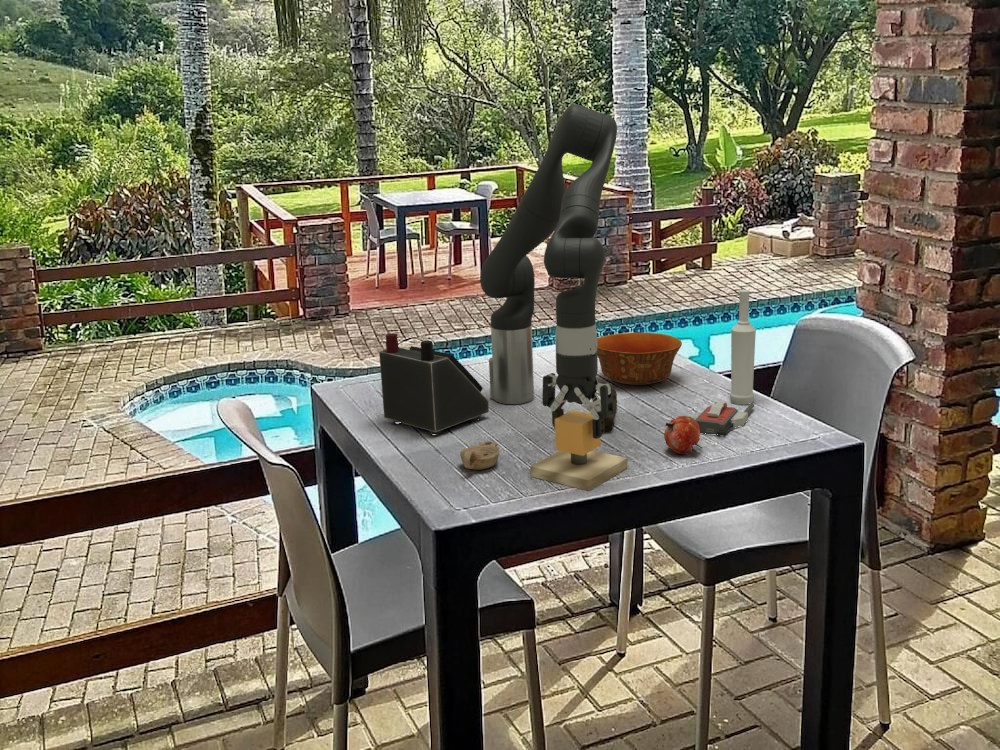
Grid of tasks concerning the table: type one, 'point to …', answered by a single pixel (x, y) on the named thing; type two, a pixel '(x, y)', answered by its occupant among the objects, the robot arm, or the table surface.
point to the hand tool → (611, 416)
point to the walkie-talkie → (721, 418)
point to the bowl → (637, 357)
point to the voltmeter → (427, 387)
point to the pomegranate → (682, 434)
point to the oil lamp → (480, 456)
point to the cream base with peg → (579, 468)
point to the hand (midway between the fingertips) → (578, 433)
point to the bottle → (742, 354)
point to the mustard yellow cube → (575, 433)
